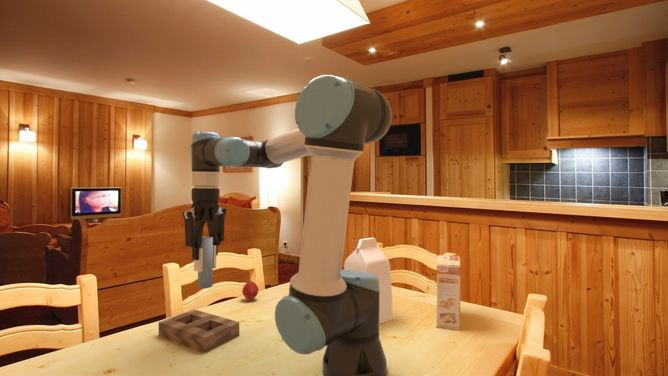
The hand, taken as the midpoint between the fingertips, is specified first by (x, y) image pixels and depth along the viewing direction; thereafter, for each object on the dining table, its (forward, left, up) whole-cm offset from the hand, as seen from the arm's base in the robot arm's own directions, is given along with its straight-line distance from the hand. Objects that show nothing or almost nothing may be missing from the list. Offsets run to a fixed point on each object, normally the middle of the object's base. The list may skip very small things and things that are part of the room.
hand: (205, 268), depth 101 cm
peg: (0, 0, -5) cm, 5 cm away
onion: (+11, -29, -20) cm, 37 cm away
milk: (-34, -36, -20) cm, 53 cm away
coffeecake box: (-57, -48, -20) cm, 77 cm away
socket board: (+2, +1, -20) cm, 20 cm away
